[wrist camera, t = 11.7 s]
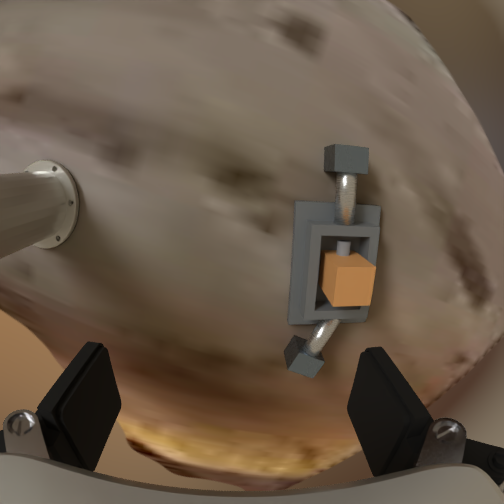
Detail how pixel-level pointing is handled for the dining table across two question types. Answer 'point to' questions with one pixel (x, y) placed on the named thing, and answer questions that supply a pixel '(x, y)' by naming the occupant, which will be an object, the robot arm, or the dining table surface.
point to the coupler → (346, 276)
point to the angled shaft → (310, 349)
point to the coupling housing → (309, 253)
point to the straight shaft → (346, 178)
